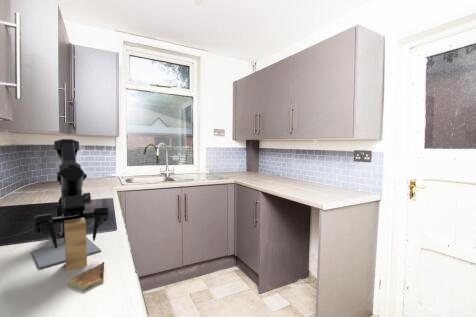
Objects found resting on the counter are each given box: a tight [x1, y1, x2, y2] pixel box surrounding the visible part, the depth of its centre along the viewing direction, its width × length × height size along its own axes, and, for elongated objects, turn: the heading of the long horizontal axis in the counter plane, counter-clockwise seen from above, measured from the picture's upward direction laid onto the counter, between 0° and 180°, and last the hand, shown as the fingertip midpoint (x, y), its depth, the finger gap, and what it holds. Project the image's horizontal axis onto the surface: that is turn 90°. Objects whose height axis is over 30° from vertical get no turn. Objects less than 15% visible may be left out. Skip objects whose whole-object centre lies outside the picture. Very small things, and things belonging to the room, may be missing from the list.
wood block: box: [64, 218, 88, 271], centre depth 72 cm, size 5×5×13 cm
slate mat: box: [30, 236, 102, 270], centre depth 80 cm, size 16×16×1 cm
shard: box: [67, 261, 105, 291], centre depth 65 cm, size 11×8×2 cm
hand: (75, 244), depth 70 cm, fingers open, 9 cm apart
